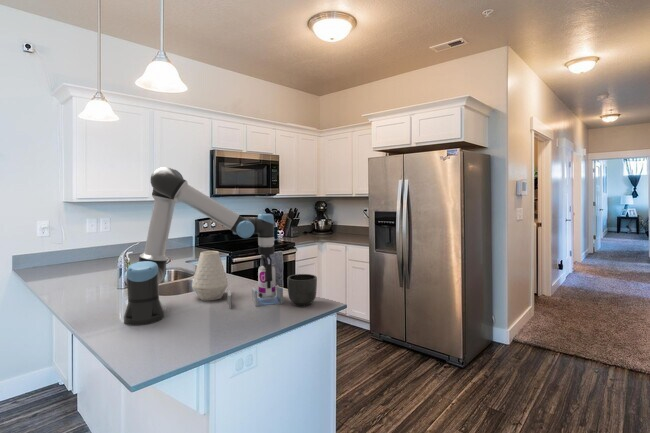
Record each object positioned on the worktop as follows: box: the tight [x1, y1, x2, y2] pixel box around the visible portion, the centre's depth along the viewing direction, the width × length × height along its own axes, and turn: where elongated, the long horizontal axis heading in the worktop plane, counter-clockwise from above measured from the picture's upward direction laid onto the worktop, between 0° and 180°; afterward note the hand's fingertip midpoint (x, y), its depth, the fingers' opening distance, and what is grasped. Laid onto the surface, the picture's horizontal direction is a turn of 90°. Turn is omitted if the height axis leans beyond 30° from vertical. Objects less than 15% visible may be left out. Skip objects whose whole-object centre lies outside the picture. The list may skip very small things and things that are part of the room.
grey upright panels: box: [226, 284, 284, 310], centre depth 178 cm, size 25×12×7 cm, turn 108°
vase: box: [191, 250, 229, 302], centre depth 187 cm, size 17×17×23 cm
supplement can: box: [257, 264, 277, 299], centre depth 180 cm, size 8×8×15 cm
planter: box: [286, 273, 318, 307], centre depth 175 cm, size 14×14×13 cm
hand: (267, 292), depth 180 cm, fingers closed on supplement can, 8 cm apart
